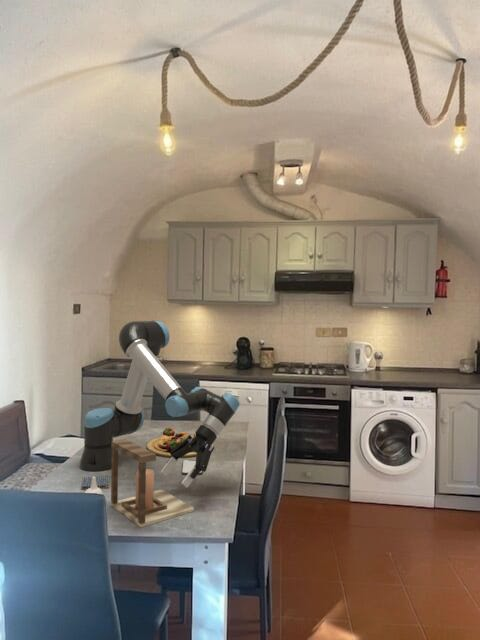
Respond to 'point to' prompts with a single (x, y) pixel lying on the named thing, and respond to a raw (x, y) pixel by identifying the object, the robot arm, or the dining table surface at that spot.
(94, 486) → the garlic bulb
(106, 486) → the woven mat
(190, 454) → the wooden plate with food
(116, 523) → the dining table surface
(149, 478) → the tan cylinder
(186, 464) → the phone case
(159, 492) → the wooden c-frame stand
